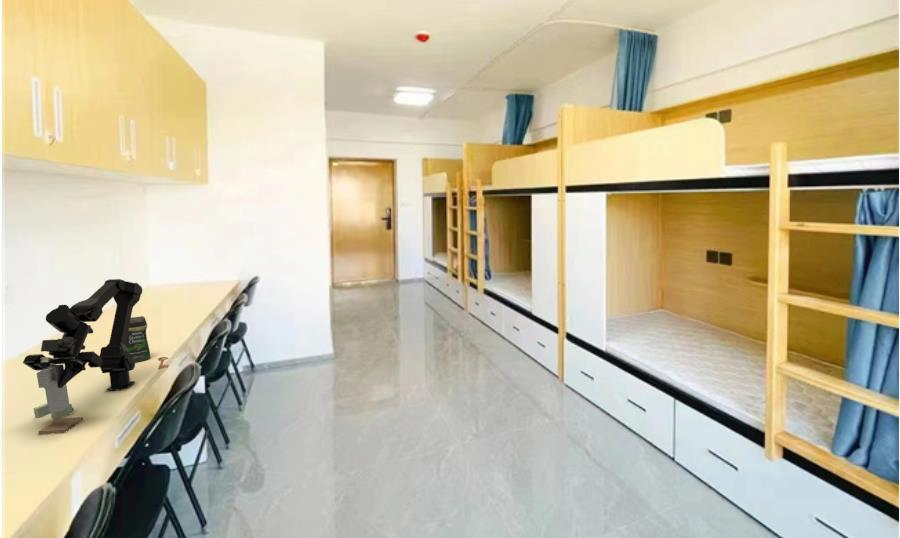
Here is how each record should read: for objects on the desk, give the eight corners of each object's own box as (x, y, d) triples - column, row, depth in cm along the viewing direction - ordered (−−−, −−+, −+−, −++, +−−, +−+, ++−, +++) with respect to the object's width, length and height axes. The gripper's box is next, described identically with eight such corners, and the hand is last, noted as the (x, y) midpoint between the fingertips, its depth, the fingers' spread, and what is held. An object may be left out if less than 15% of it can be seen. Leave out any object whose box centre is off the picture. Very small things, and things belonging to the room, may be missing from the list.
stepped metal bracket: (57, 406, 136) (50, 365, 134) (69, 405, 137) (63, 364, 135) (40, 416, 130) (33, 373, 128) (54, 415, 130) (47, 372, 128)
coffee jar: (124, 365, 188) (118, 321, 185) (122, 360, 194) (117, 317, 191) (152, 359, 194) (147, 317, 191) (149, 355, 200) (145, 313, 197)
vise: (55, 408, 148) (54, 400, 147) (76, 411, 146) (74, 402, 145) (35, 417, 142) (33, 408, 142) (55, 420, 140) (54, 410, 140)
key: (170, 369, 184) (174, 358, 197) (170, 367, 184) (174, 355, 197) (153, 370, 181) (158, 359, 195) (153, 368, 181) (158, 357, 195)
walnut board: (58, 421, 139) (58, 418, 139) (83, 419, 140) (83, 416, 140) (38, 434, 131) (38, 431, 131) (65, 432, 132) (64, 429, 132)
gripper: (22, 328, 134) (-4, 378, 125) (91, 325, 136) (70, 374, 127) (46, 346, 143) (24, 394, 134) (110, 342, 145) (92, 389, 136)
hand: (52, 388), depth 132 cm, fingers closed on stepped metal bracket, 3 cm apart
